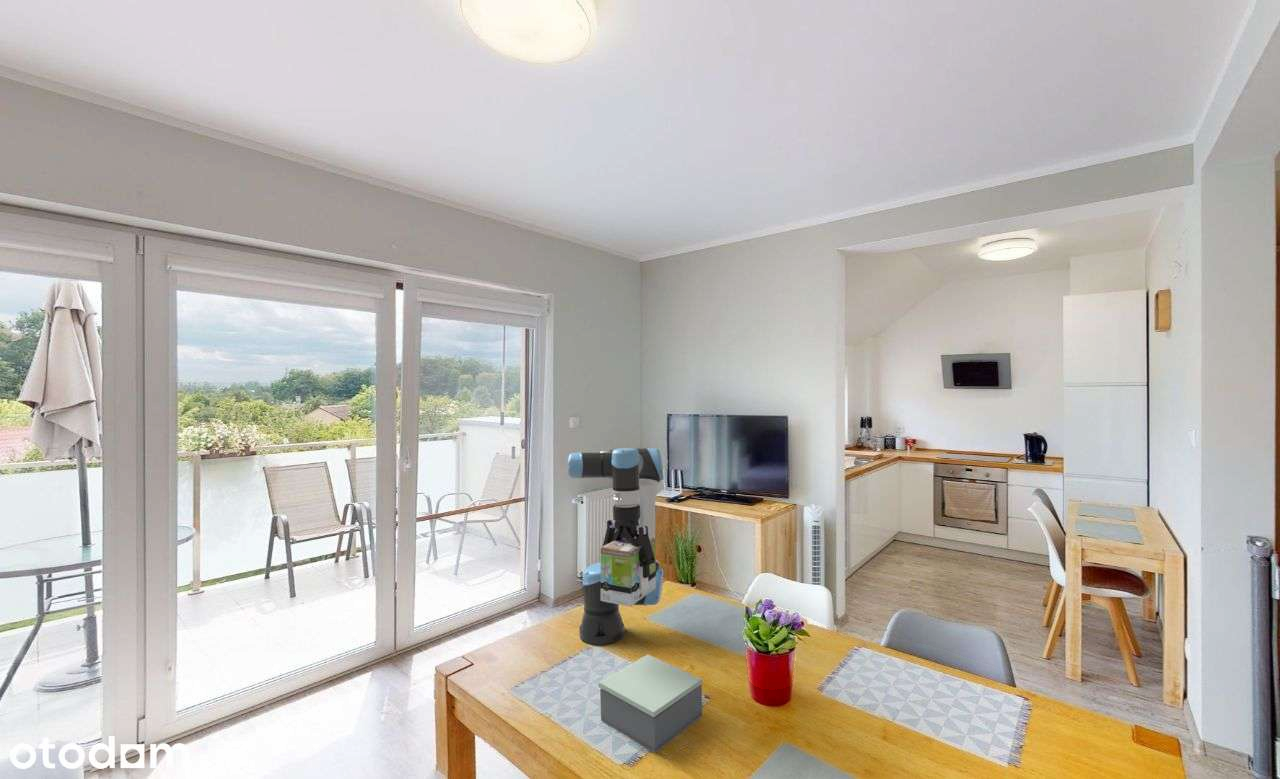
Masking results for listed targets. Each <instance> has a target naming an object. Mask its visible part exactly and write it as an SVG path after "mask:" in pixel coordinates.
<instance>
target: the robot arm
mask: <svg viewBox="0 0 1280 779" xmlns="http://www.w3.org/2000/svg"><path fill="white" fill-rule="evenodd" d="M662 462H663V461H662V455H661V451H660V449H658V448H653V447H652V448H648V447H646V448H645V447H644V448H643V447H642V448H641V447H640V448H638V447H637V448H634V447H620V448H615V449H609V450H603V451H600V452H581V451H579V452H571V453H570V454H569V455H568V459H567V473H568V475H569V477H570V478H572V479H597V478H601V479H602V478H603V479H610V480H612V504H613V506H612V518H613V519H609V520H607V522H606V532H605V535H604V539H603V544H602V546H604V545H606V544H608V543H610V542H612V541H618V540H621V539H623V538H625V539H627V540H629V542H630V543H632V545H633V546H636V547H638V546H641V548H640V550H639V561H640V563H641V565H639V590H641V591H642V590H645V589H647V588H648V577H649V576H650V572H649V571H650V568H649V566H650V564H653V563H655V557H654V554H653V550H652V547H651V543H650V539H649V537H651V538H655V539H656V489H657V488H659V487H660V485H661V481H662V480H664V478H665V477H664V470H663V469H664V468H663V463H662ZM635 536H636V538H635ZM644 559H645V561H644ZM582 579H583V580H582V586H583V587H582V589H583V590H582V591H583V616H582V619H581V624H580V626H579V630H578V632H579V634H578V635H579V639H580V640H581V641H582V642H584V643H585V644H586V643H587V644H589V645H594V646H604V645H610V644H614V643H616V642H618V641H620V640H621V639H622V638H624V636H625V624H624V622H623V619H622V616H621V613H620V610H619V606H620V605H619V604H614V603H609V602H604V601H601V561H600V562H596V563H593V564H590V565H589V566H587V567H586V568H585V570H584V571H583V578H582ZM663 584H664V569H663V568H662V567H660V562H659V561H658V560H657V559H656V588H655V589H654V590H652V591H651V592H650V593H648V594H647V595H645V596H644V597H643V598H642V599H640V600H639V601H637V602H636V603H635V604H634V605H633V606H643V607H646V606H656V605H658V604H659V602H660V600H661V596H662V591H663Z"/></svg>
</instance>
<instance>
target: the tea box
mask: <svg viewBox="0 0 1280 779" xmlns="http://www.w3.org/2000/svg"><path fill="white" fill-rule="evenodd" d="M635 538H636V536H635ZM649 539H650V543H651V547H652V550H653V554H654V557H655V563H653V564H650V566H649V568H650V571H649V572H650V576H649V577H648V588H647V589H645V590H642V591H641V590H639V565H641V563H640V561H639V550H640V548H641V546H638V547H636V546H633V545H632V543H630V542H629V540H627V539H625V538H623V539H621V540H618V541H612V542H610V543H608V544H606V545H604V546H603V545H602V546H601V547H600V562H601V601H604V602H609V603H614V604H619V606H626V607H632V606H635V605H634V604H635V603H636V602H637V601H639V600H640V599H642V598H643V597H644V596H645V595H647V594H648V593H650V592H651V591H652V590H654V589H655V588H656V560H657V556H656V548H657V547H656V537H655V538H651V537H649ZM644 561H645V559H644Z"/></svg>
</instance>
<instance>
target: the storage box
mask: <svg viewBox="0 0 1280 779" xmlns="http://www.w3.org/2000/svg"><path fill="white" fill-rule="evenodd" d="M702 686H703V683H702V684H701V685H700V686H698V687H697V688H695V689H694V690H692V691H691V692H690V693H688V694H687V695H685V696H684V697H682V698H681V699H680V700H678V701H677V702H675V703H674V704H672V705H671V706H670V707H668V708H667V709H665V710H664V711H662V712H661V713H660V714H658V715H657V716H655V717H652V716H650V715H648V714H646V713H645V712H643V711H641V710H639V709H637V708H636V707H634V706H632V705H630V704H628V703H627V702H625V701H623V700H621V699H619V698H618V697H616V696H614V695H612V694H610V693H609V692H607V691H605V690H603V689H601V688H600V690H599V691H600V698H599V699H600V721H601V722H603V723H605V724H606V725H608V726H609V727H611V728H612V727H613V729H614V730H616V731H618V732H619V733H621V734H622V735H623V736H625V737H627V738H629V739H630V740H632V741H633V742H635V743H636V744H639V745H640V746H641V747H643V748H645V749H646V748H647V750H648V751H649V752H651V753H652V754H657V753H658V752H659V751H660V750H662V749H663V748H664V747H666V745H668V744H670V742H672V741H673V740H675V738H676V737H678V736H679V735H680V734H681V733H682V732H684V731H685V730H686V729H688V728H689V727H690V726H691V725H693V724H694V723H695V722H697V721H698V720H699V719H700V718H701V717H703V694H702V693H703V692H702V690H703V688H702Z"/></svg>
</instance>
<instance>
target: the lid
mask: <svg viewBox="0 0 1280 779" xmlns="http://www.w3.org/2000/svg"><path fill="white" fill-rule="evenodd" d="M597 684H598V688H600V689H603V690H605V691H607V692H609V693H610V694H612V695H614V696H616V697H618V698H619V699H621V700H623V701H625V702H627V703H628V704H630V705H632V706H634V707H636V708H637V709H639V710H641V711H643V712H645V713H646V714H648V715H650V716H652V717H655V716H657V715H658V714H660V713H661V712H662V711H664V710H665V709H667V708H668V707H670V706H671V705H672V704H674V703H675V702H677V701H678V700H680V699H681V698H682V697H684V696H685V695H687V694H688V693H690V692H691V691H692V690H694V689H695V688H697V687H698V686H700V685H701V684H702V685H703V678H701V677H700V676H697V675H694V674H692V673H690V672H687V671H685V670H683V669H681V668H679V667H677V666H674V665H672V664H670V663H667V662H666V661H664V660H661V659H659V658H657V657H654V656H652V655H650V654H646V655H644V656H642V657H640V658H639V659H637V660H635V661H633V662H632V663H630V664H628V665H626V666H625V667H623V668H621V669H619V670H618V671H615V672H614V673H612V674H610V675H609V676H607V677H605V678H603V679H601V680H600V681H598V683H597Z"/></svg>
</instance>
